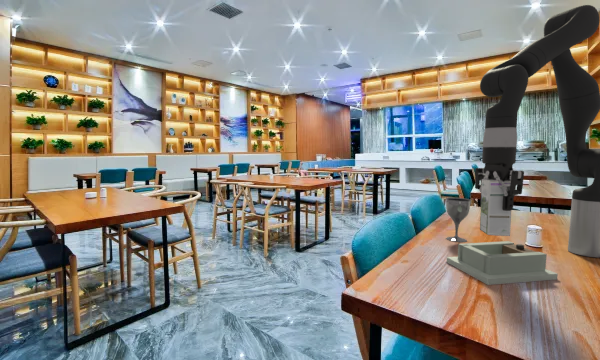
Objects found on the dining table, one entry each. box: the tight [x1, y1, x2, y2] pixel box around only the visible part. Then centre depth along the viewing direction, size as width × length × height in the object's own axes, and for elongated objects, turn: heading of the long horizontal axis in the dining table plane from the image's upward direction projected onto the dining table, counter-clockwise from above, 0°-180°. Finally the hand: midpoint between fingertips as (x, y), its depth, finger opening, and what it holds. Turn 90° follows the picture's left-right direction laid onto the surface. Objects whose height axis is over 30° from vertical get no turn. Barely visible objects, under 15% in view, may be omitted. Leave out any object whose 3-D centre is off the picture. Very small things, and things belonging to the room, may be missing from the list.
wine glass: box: [445, 197, 471, 243], centre depth 116 cm, size 8×8×15 cm
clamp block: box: [502, 243, 536, 254], centre depth 87 cm, size 4×7×5 cm, turn 10°
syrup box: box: [479, 179, 512, 237], centre depth 85 cm, size 6×6×14 cm
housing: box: [446, 240, 559, 286], centre depth 86 cm, size 20×16×6 cm
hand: (495, 207), depth 85 cm, fingers closed on syrup box, 7 cm apart
